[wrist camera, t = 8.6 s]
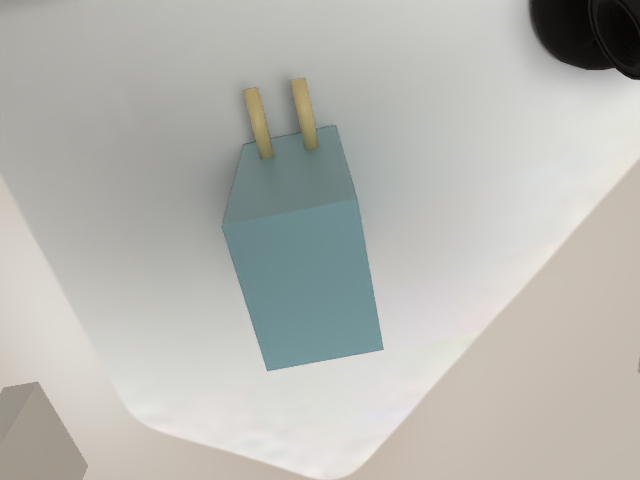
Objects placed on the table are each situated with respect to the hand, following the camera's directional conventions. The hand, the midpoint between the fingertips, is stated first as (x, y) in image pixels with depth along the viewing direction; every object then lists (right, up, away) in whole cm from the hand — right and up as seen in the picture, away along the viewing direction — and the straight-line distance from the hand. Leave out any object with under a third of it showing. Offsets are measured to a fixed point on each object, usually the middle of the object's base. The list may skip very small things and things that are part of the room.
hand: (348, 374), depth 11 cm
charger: (-2, +7, +17) cm, 19 cm away
